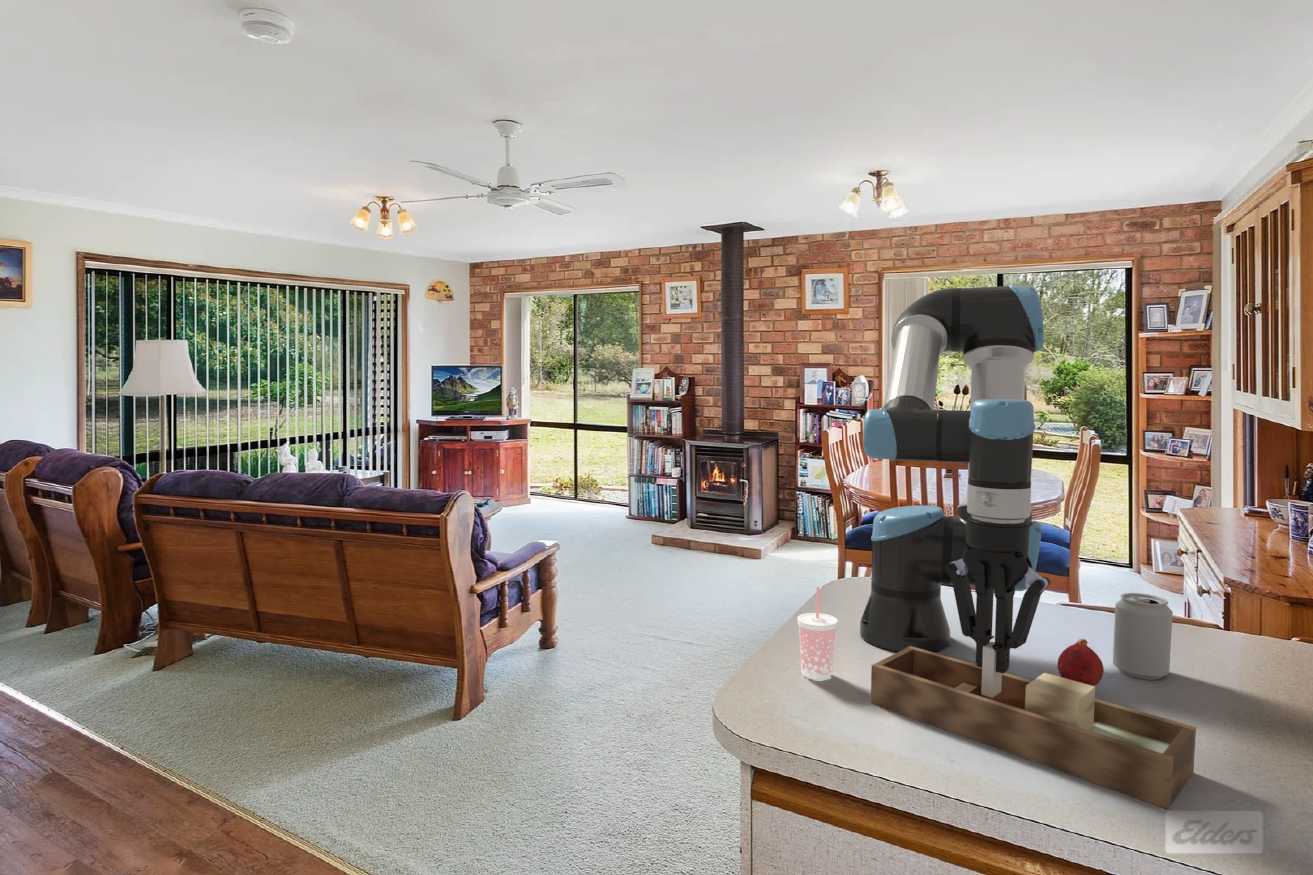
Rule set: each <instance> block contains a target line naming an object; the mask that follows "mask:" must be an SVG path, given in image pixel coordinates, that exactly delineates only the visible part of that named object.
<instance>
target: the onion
mask: <svg viewBox="0 0 1313 875" xmlns="http://www.w3.org/2000/svg"><path fill="white" fill-rule="evenodd" d="M1057 671H1058V674H1059V677H1062V678H1066V679H1069V680H1073V681H1077V682H1080V683H1084V684H1087V685H1091V686H1095V687H1096V686H1097V685H1098V684H1099V683H1100V682H1101V680H1102V678H1103V676H1104V664H1103V662H1102V660H1101V658H1100V657H1099V655H1098V654H1097V653H1096V652H1095V650H1093V649H1092V648H1091V647H1089V646H1088V640H1087V639H1085V638H1080V639H1078V640H1077V641H1076V642H1075V643H1074V644H1071V645H1070V646H1068V647H1066V648H1065V649H1064V650H1063V651H1062V652H1061V653H1060V655H1059V656H1058V659H1057Z"/></svg>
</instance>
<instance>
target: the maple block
mask: <svg viewBox="0 0 1313 875" xmlns="http://www.w3.org/2000/svg"><path fill="white" fill-rule="evenodd" d="M1095 699H1096V685H1095V686H1091V685H1087V684H1084V683H1080V682H1077V681H1073V680H1069V679H1066V678H1062V677H1061V676H1058V675H1054V674H1051V673H1048V672H1043V673H1042V674H1040V675H1039V676H1037V677H1036V678H1034V680H1033V679H1032V682H1030V683H1029V684H1028V685H1026V695H1025V711H1029V712H1032V713H1035V714H1038V715H1041V716H1045V717H1048V718H1051V719H1054V720H1057V721H1060V722H1064V723H1067V724H1070V725H1073V726H1076V727H1080V728H1083V729H1086V730H1089V729H1090V728H1091V727H1092V726H1093V725H1094V705H1095Z"/></svg>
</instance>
